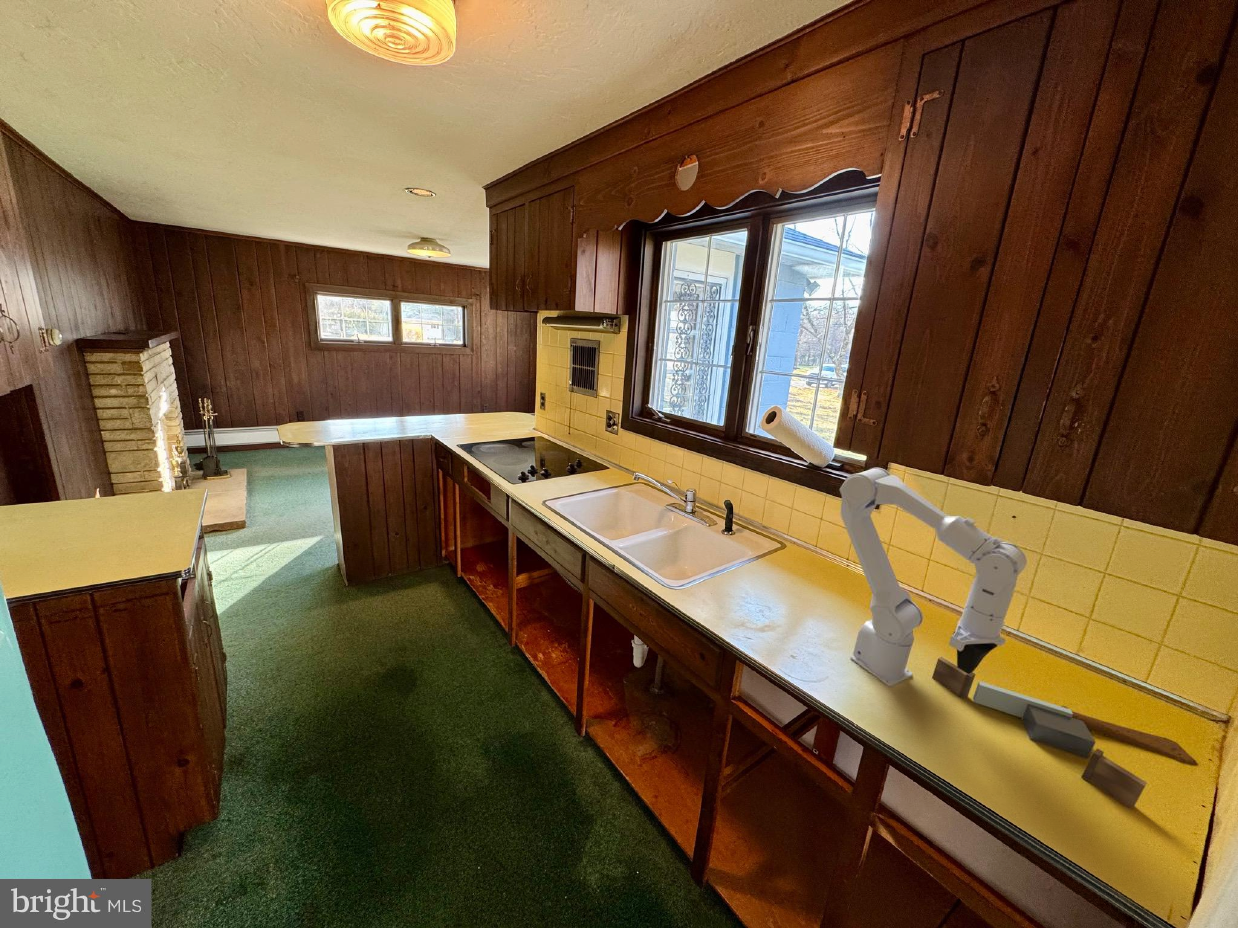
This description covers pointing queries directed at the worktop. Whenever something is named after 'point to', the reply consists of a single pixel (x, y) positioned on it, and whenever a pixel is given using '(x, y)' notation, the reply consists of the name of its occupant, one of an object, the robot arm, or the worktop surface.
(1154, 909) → the worktop surface
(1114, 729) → the primitive tool
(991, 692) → the pale grey-green bar
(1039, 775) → the worktop surface
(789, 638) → the worktop surface
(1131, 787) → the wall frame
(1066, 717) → the block
